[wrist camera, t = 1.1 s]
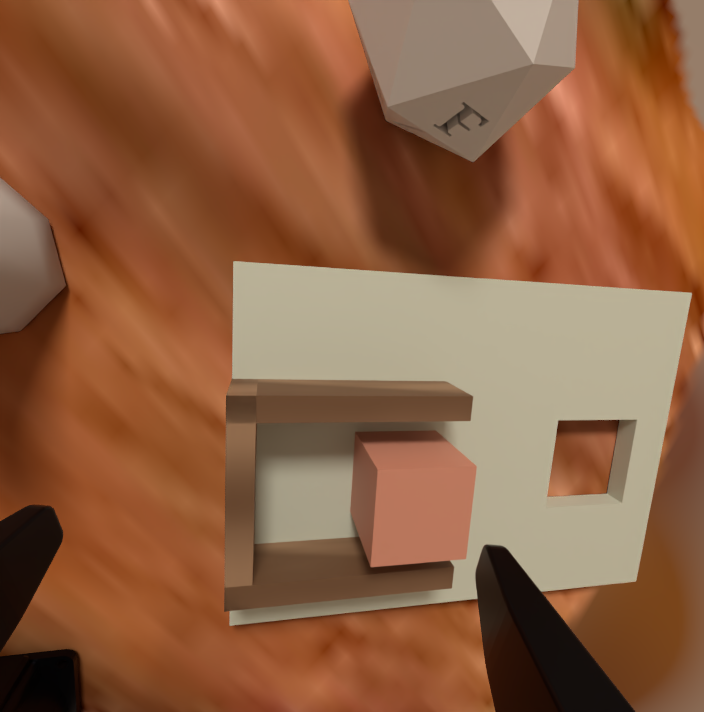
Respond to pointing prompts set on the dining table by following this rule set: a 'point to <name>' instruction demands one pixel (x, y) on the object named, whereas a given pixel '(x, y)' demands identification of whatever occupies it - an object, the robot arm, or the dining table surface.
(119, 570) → the dining table surface
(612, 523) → the board
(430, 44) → the die
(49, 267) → the flask
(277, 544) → the cubby
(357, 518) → the block
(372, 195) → the dining table surface
